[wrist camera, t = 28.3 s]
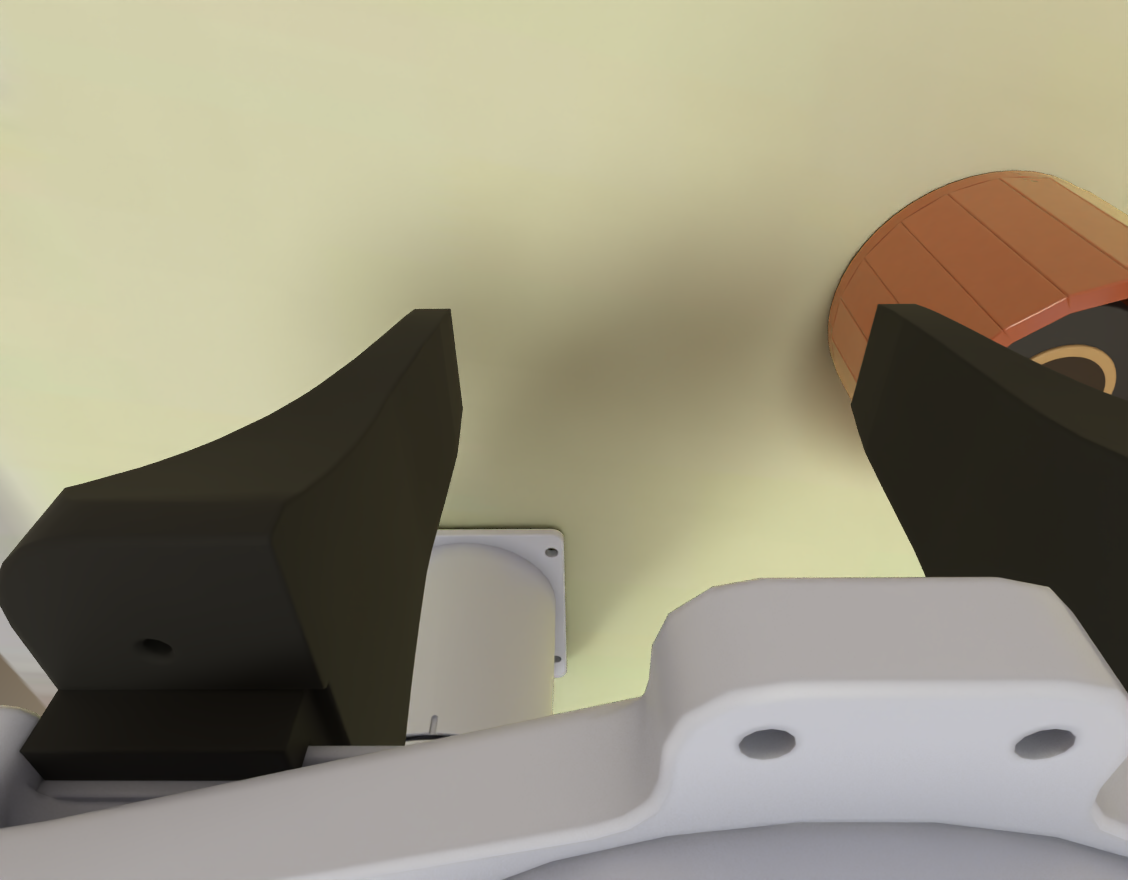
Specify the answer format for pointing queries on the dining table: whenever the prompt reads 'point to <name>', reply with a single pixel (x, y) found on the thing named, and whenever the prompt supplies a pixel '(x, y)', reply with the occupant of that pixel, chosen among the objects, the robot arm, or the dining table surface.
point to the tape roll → (1085, 347)
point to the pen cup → (985, 261)
